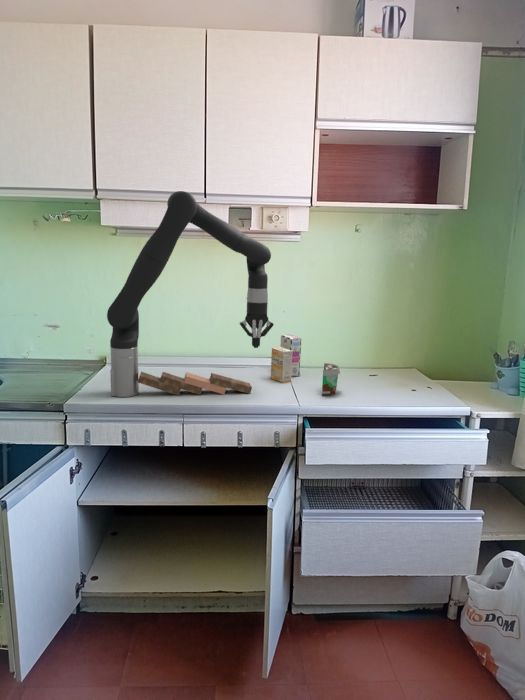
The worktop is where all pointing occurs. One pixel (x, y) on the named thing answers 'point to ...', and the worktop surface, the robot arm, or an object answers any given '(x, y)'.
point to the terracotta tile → (203, 383)
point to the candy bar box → (294, 345)
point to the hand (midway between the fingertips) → (255, 347)
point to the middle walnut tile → (179, 383)
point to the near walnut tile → (157, 383)
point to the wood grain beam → (230, 383)
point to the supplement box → (281, 364)
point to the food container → (330, 379)
